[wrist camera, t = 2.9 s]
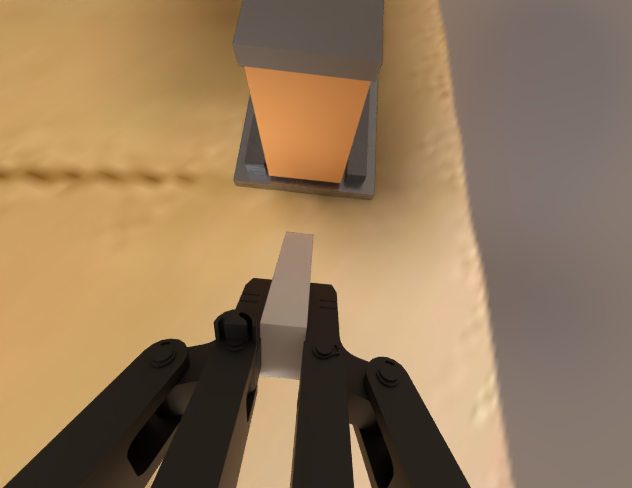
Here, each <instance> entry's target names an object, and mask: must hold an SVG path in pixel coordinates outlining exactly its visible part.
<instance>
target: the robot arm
mask: <svg viewBox="0 0 632 488" xmlns="http://www.w3.org/2000/svg"><path fill="white" fill-rule="evenodd" d="M313 236H314V235H313V234H304V233H294V232H286V234H285V237H284V241H283V244H282V248H281V251H280V255H279V258H278V262H277V265H276V269H275V272H274V276H273V279H272V280H269V279H259V278H253V279H252V280H251V281H249V282H248V283H247V284H246V285H245V288H244V290H243V292H242V295H241V297H240V300H239V302H238V304H237V307H236V309H234V310H230V311H227V312H224V313H223V314H221V315H220V316H218V317H217V319H216V320H215V321H214V329H215V337H216V340H214V341H212V342H210V343H207V344H203V345H198V346H192V347H187V346H186V345H185V343H184V342H182V341H180V340H178V339H166V340H161V341H159V342H157V343H154V344H152V345H151V346H150V347H148V348H147V349H146V350H144V351H143V352H142V353H141V354H140V355H139V356H138V357H137V358H136V359H135V360H134V361H133V362H132V363H131V364H130V365H129V366H128V367H127V368H126V369H125V370H124V371H123V372H122V373H121V374H120V375H119V376H118V377H117V378H116V379H115V380H113V381H112V382H111V383H110V384H109V385H108V386H107V387H106V388H105V389H104V390H103V391H102V392H101V393H100V394H99V395H98V396H97V397H96V398H95V399H94V400H93V401H92V402H91V403H90V404H89V405H88V406H87V407H86V408H85V409H84V410H83V411H82V412H81V413H79V414H78V415H77V416H76V417H75V418H74V419H73V420H72V421H71V422H70V423H69V424H68V425H67V426H66V427H65V428H64V429H63V430H62V431H61V432H60V433H59V434H58V435H57V436H56V437H55V438H54V439H53V440H52V441H51V442H50V443H49V444H48V445H47V446H46V447H44V448H43V449H42V450H41V451H40V452H39V453H38V454H37V455H36V456H35V457H34V458H33V459H32V460H31V461H30V462H29V463H28V464H27V465H26V466H25V467H24V468H23V469H22V470H21V471H20V472H19V473H18V474H17V475H16V476H15V477H14V478H13V479H12V480H10V481H9V482H8V483H7V484H6V485H5V486H4V487H3V488H145V486H146V484H147V483H148V481H149V480H150V478H151V477H152V475H153V474H154V472H155V471H156V469H157V468H158V466H159V465H160V463H161V462H162V464H161V466H160V468H159V470H158V473H157V475H156V477H155V479H154V482H153V484H152V486H151V488H236V486H237V481H238V477H239V472H240V468H241V463H242V459H243V454H244V450H245V445H246V441H247V436H248V432H249V427H250V423H251V418H252V414H253V409H254V405H255V400H256V396H257V382H258V378H259V374H260V376H262V377H274V378H285V379H297V380H300V383H299V393H298V401H297V414H296V426H295V437H294V448H293V460H292V471H291V482H290V488H354V480H353V467H352V454H351V441H350V428H349V423H350V424H352V425H353V427H354V430H355V434H356V437H357V440H358V444H359V447H360V450H361V454H362V457H363V460H364V463H365V467H366V470H367V473H368V477H369V480H370V483H371V487H372V488H471V487H470V485H469V484H468V482H467V480H466V478H465V476H464V475H463V473H462V471H461V469H460V467H459V466H458V464H457V462H456V460H455V458H454V456H453V455H452V453H451V451H450V449H449V447H448V446H447V444H446V442H445V440H444V438H443V437H442V435H441V433H440V431H439V429H438V427H437V426H436V424H435V422H434V420H433V418H432V417H431V415H430V413H429V411H428V409H427V408H426V406H425V404H424V402H423V400H422V399H421V397H420V395H419V393H418V391H417V389H416V388H415V386H414V384H413V382H412V380H411V379H410V377H409V375H408V373H407V372H406V370H405V369H404V368H403V367H402V365H400V364H399V363H398V362H396V361H395V360H393V359H390V358H388V357H377V358H374V359H372V360H371V361H370V362H368V361H365V360H362V359H360V358H357V357H355V356H353V355H351V354H350V353H349V352H348V351H346V349H345V348H344V347H343V345H342V343H341V341H340V336H339V321H338V306H337V293H336V291H335V289H334V288H333V286H332V285H328V284H318V283H310V277H311V264H312V250H313ZM162 460H163V461H162Z"/></svg>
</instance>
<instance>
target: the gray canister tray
mask: <svg viewBox="0 0 632 488" xmlns="http://www.w3.org/2000/svg"><path fill="white" fill-rule="evenodd" d="M377 87H378V77H377V80H376V82H372V81H371V83H370V86H369V89H368V93H367V96H366V99H365V103H364V106H363V110H362V113H361V116H360V120H359V123H358V126H357V130H356V133H355V137H354V140H353V143H352V147H351V150H350V153H349V157H348V160H347V164H346V167H345V170H344V174H343V177H342V180H341V183H334V182H325V181H315V180H306V179H297V178H287V177H278V176H269V173H268V168H267V164H266V160H265V155H264V151H263V147H262V142H261V138H260V134H259V129H258V125H257V120H256V116H255V112H254V107H253V103H252V99H251V94H250V97H249V103H248V108H247V113H246V118H245V123H244V128H243V133H242V139H241V144H240V149H239V154H238V159H237V164H236V169H235V174H234V182H235V184H236V186H243V187H252V188H262V189H271V190H281V191H290V192H300V193H309V194H319V195H328V196H337V197H347V198H356V199H366V200H372V198H373V196H374V187H375V154H376V121H377Z"/></svg>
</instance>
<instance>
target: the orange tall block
mask: <svg viewBox="0 0 632 488" xmlns="http://www.w3.org/2000/svg"><path fill="white" fill-rule="evenodd" d="M383 15H384V0H243V2H242V6H241V10H240V14H239V19H238V23H237V27H236V32H235V36H234V40H233V47H234V51H235V55H236V59H237V63H238V66H244V68H245V72H246V77H247V81H248V86H249V90H250V94H251V99H252V103H253V107H254V112H255V116H256V120H257V125H258V129H259V134H260V138H261V142H262V147H263V151H264V155H265V160H266V164H267V168H268V173H269V176H278V177H287V178H297V179H306V180H315V181H325V182H334V183H341V180H342V177H343V174H344V170H345V167H346V164H347V160H348V157H349V153H350V150H351V147H352V143H353V140H354V137H355V133H356V130H357V126H358V123H359V120H360V116H361V113H362V110H363V106H364V103H365V99H366V96H367V93H368V89H369V86H370V83H371V81H372V82H376V80H377V77H378V74H379V71H380V68H381V65H382V56H383Z"/></svg>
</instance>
